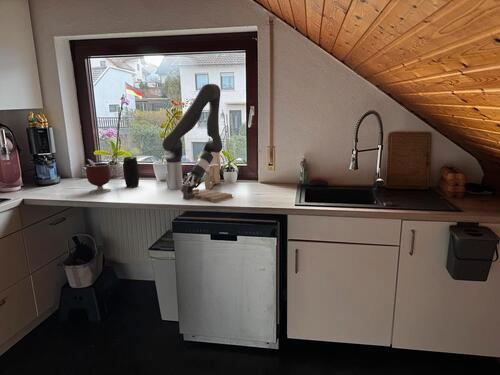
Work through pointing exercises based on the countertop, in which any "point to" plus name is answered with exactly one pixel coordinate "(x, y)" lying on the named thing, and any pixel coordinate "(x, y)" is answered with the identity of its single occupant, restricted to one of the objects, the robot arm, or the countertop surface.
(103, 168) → the mate gourd
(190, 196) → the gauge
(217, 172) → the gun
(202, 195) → the brown flat slatted board
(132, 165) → the portable speaker
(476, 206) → the countertop surface
